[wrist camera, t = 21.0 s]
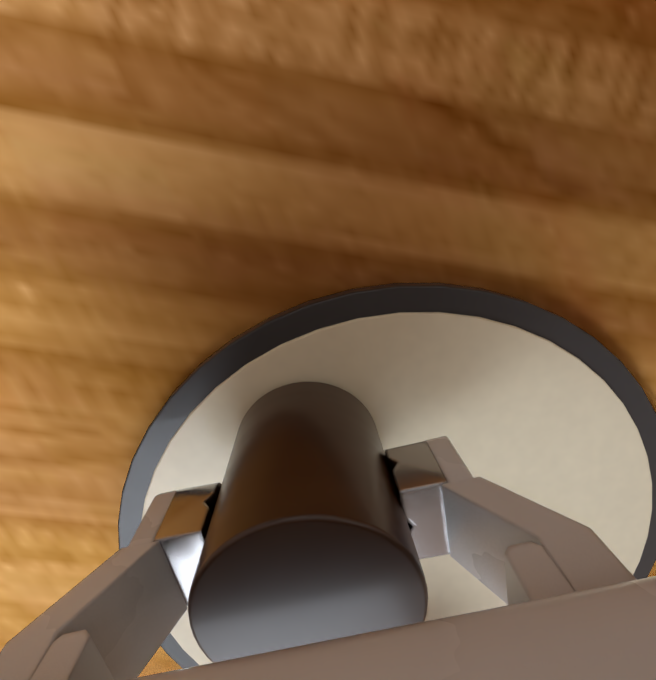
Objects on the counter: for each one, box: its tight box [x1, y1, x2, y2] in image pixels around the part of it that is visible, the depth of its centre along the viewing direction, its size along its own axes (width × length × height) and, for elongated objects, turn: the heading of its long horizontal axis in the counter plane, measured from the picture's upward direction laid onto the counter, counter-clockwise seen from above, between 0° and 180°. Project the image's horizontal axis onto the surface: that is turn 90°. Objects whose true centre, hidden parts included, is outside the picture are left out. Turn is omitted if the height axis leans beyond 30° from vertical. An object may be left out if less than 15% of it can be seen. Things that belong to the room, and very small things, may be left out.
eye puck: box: [188, 382, 428, 663], centre depth 9 cm, size 4×4×5 cm
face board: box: [118, 283, 656, 669], centre depth 13 cm, size 18×18×1 cm
